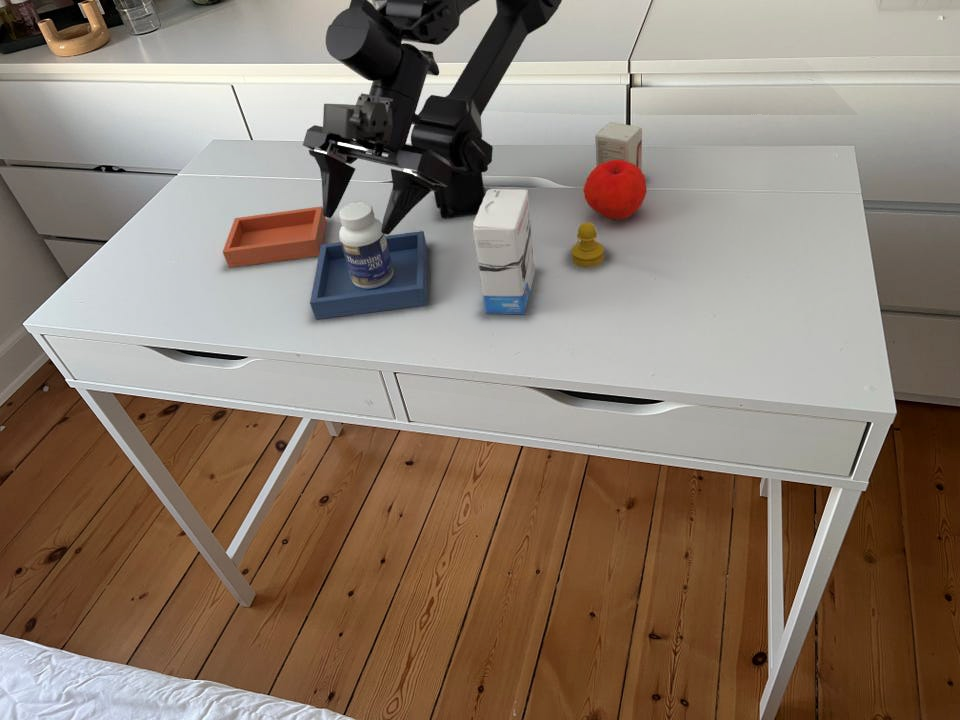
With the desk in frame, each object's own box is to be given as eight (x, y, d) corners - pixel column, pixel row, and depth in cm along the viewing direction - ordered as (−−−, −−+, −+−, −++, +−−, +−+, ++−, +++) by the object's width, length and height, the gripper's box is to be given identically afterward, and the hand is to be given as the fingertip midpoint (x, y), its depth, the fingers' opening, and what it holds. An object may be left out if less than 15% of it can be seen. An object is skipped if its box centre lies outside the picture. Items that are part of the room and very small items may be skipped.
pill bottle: (349, 292, 95) (329, 225, 89) (355, 267, 99) (336, 201, 93) (392, 288, 95) (375, 220, 88) (396, 263, 99) (380, 196, 92)
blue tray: (427, 247, 102) (423, 230, 100) (426, 305, 92) (423, 287, 91) (326, 260, 102) (320, 244, 101) (315, 319, 93) (309, 302, 91)
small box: (642, 179, 108) (643, 126, 102) (628, 194, 105) (628, 140, 100) (610, 172, 110) (610, 120, 105) (595, 186, 108) (594, 134, 103)
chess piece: (606, 250, 96) (606, 215, 93) (600, 268, 93) (599, 233, 90) (575, 248, 97) (574, 213, 94) (568, 266, 95) (566, 231, 91)
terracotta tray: (326, 221, 110) (322, 206, 108) (320, 255, 104) (315, 239, 102) (240, 233, 111) (234, 218, 109) (229, 267, 104) (222, 251, 102)
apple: (581, 230, 100) (578, 180, 95) (588, 199, 106) (587, 149, 101) (643, 232, 98) (644, 180, 93) (648, 199, 104) (649, 149, 99)
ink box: (525, 315, 89) (516, 228, 81) (483, 314, 90) (470, 228, 82) (536, 272, 95) (528, 186, 87) (497, 271, 96) (485, 187, 88)
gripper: (290, 58, 88) (251, 191, 89) (418, 78, 79) (373, 225, 80) (351, 96, 98) (316, 215, 99) (472, 118, 88) (431, 248, 90)
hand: (355, 225), depth 91 cm, fingers open, 9 cm apart
